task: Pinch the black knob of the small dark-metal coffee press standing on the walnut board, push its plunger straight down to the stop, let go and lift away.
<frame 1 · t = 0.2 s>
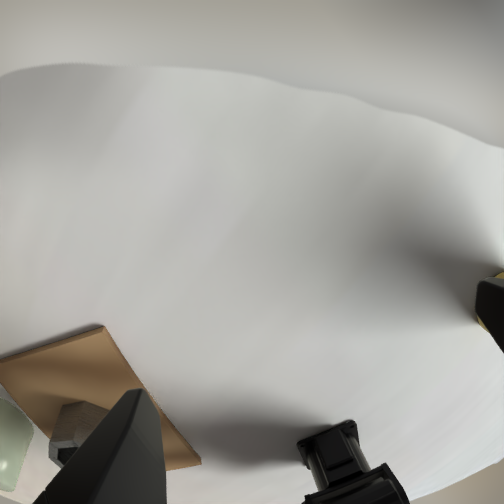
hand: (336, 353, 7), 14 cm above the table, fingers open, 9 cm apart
walnut board: (95, 420, 25), on the table
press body: (94, 426, 24), resting on walnut board
sage mug: (6, 418, 23), on the table
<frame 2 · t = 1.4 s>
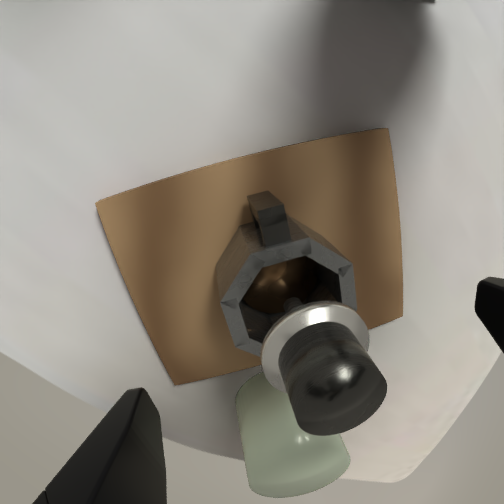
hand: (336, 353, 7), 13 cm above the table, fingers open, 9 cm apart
walnut board: (271, 265, 21), on the table
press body: (274, 270, 20), resting on walnut board
sage mug: (277, 398, 25), on the table
plunger: (313, 346, 13), point 9 cm above the table, slide at 0.0 cm
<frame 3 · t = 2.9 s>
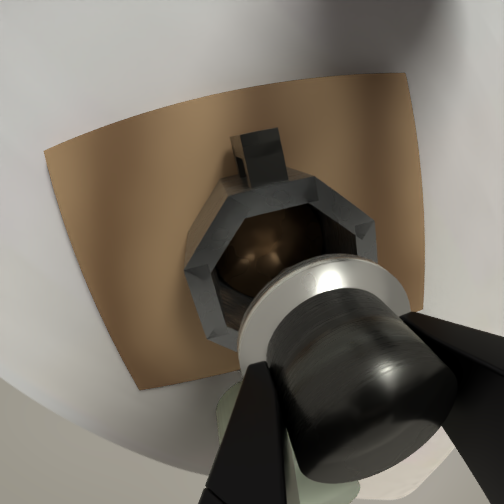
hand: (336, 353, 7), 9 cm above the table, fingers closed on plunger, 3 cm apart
walnut board: (262, 236, 16), on the table
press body: (265, 240, 15), resting on walnut board
sage mug: (268, 409, 20), on the table
plunger: (323, 334, 8), point 9 cm above the table, slide at 0.0 cm, touching gripper
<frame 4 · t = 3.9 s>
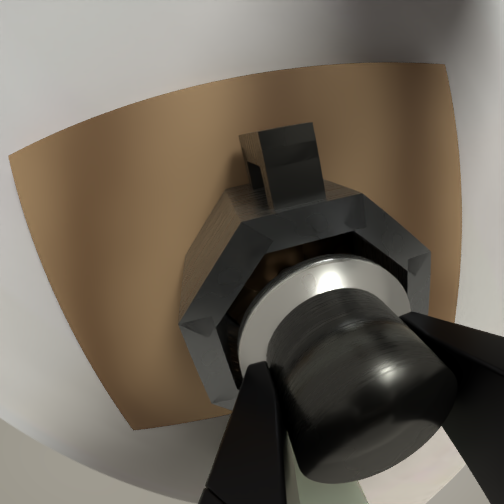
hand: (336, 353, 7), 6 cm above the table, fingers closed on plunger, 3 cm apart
walnut board: (276, 259, 13), on the table
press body: (281, 266, 12), resting on walnut board
sage mug: (278, 445, 17), on the table
plunger: (323, 334, 8), point 5 cm above the table, slide at 3.2 cm, touching gripper
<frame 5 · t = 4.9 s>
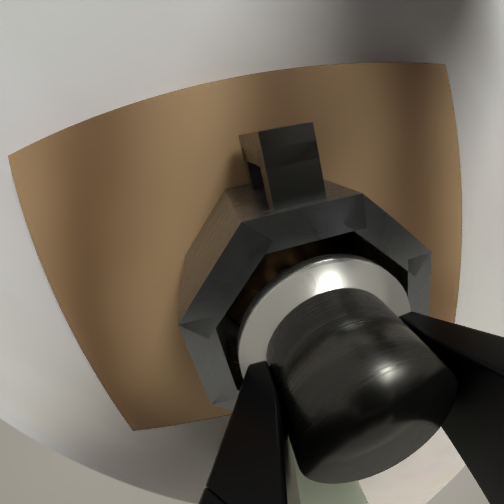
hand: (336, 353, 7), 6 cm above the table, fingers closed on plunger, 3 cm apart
walnut board: (276, 259, 13), on the table
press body: (281, 266, 12), resting on walnut board
sage mug: (278, 445, 17), on the table
plunger: (323, 334, 8), point 5 cm above the table, slide at 3.3 cm, touching gripper
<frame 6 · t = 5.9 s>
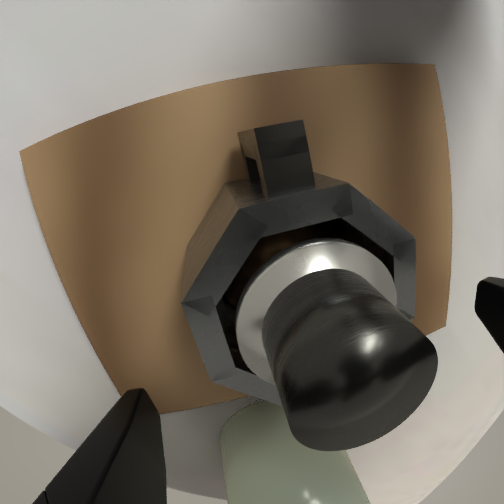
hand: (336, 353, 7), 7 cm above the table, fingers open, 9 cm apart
walnut board: (273, 249, 14), on the table
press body: (278, 256, 13), resting on walnut board
sage mug: (276, 434, 18), on the table
plunger: (315, 314, 9), point 5 cm above the table, slide at 3.3 cm
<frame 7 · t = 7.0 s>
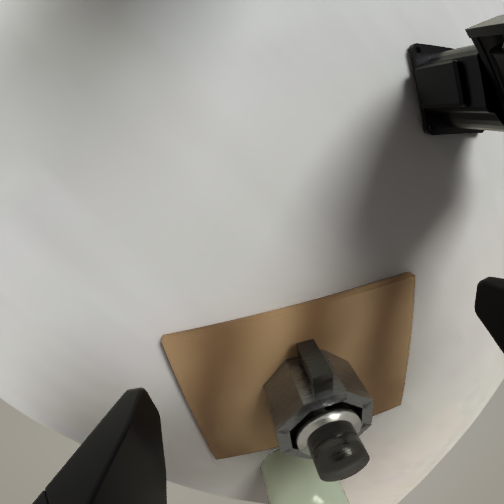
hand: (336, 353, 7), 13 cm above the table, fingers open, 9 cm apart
walnut board: (305, 379, 24), on the table
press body: (307, 386, 23), resting on walnut board
sage mug: (294, 461, 28), on the table
plunger: (327, 429, 19), point 5 cm above the table, slide at 3.3 cm
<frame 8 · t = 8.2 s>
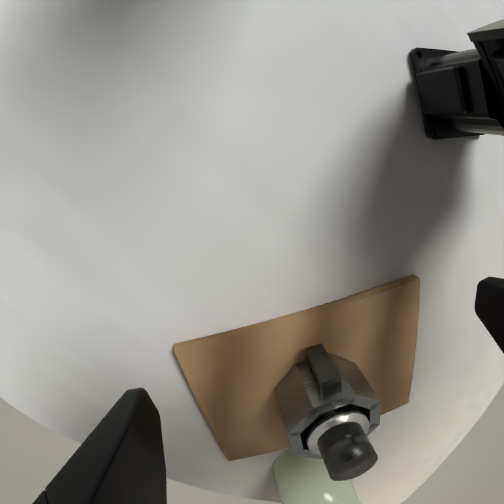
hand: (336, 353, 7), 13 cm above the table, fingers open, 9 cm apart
walnut board: (314, 381, 24), on the table
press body: (317, 388, 23), resting on walnut board
sage mug: (305, 460, 28), on the table
plunger: (336, 430, 19), point 5 cm above the table, slide at 3.3 cm
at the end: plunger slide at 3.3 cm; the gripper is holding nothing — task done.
